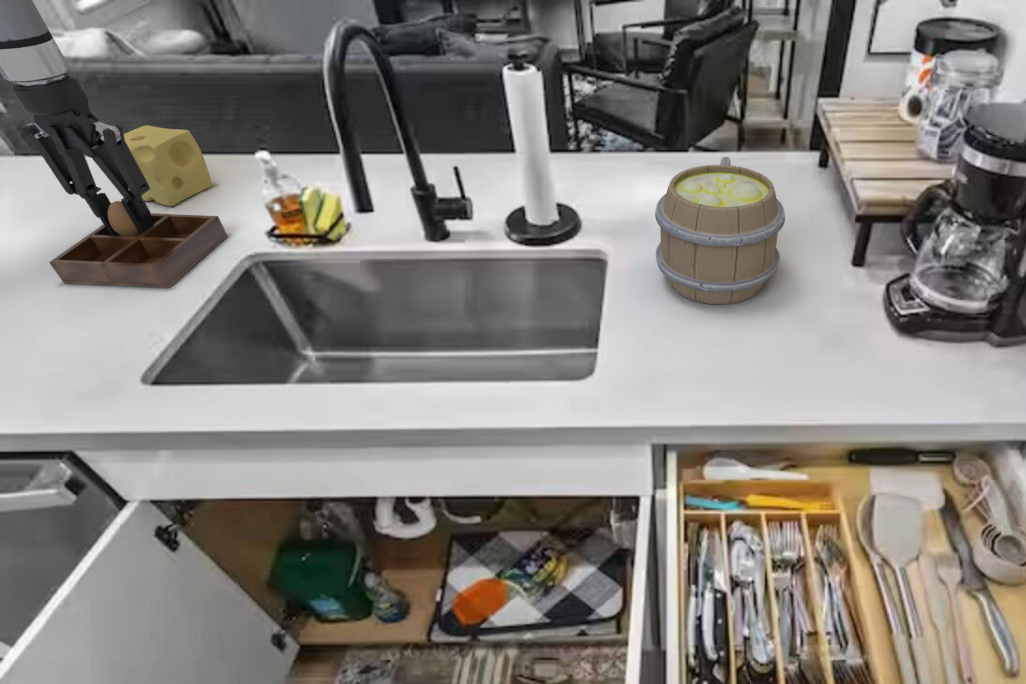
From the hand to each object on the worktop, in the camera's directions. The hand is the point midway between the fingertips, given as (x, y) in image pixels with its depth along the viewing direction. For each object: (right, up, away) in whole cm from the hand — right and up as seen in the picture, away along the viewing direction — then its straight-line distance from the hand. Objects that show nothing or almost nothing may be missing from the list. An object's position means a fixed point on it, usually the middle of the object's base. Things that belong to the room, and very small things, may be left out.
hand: (136, 236), depth 108 cm
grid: (+4, -4, -2) cm, 6 cm away
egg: (0, 0, 0) cm, 0 cm away
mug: (+94, -6, -2) cm, 94 cm away
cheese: (-6, +13, +16) cm, 21 cm away
